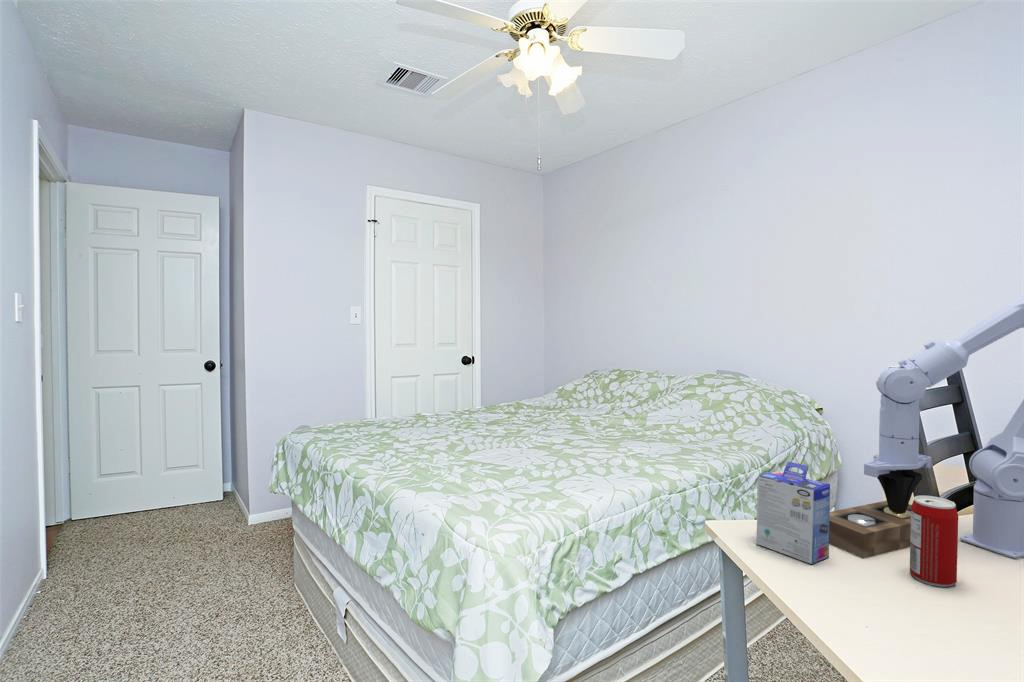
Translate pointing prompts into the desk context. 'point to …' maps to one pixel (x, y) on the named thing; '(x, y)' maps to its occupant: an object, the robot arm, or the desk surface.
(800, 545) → the ink cartridge box
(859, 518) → the steel peg
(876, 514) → the brown peg hole block
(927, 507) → the soda can
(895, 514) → the brass peg
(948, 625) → the desk surface
